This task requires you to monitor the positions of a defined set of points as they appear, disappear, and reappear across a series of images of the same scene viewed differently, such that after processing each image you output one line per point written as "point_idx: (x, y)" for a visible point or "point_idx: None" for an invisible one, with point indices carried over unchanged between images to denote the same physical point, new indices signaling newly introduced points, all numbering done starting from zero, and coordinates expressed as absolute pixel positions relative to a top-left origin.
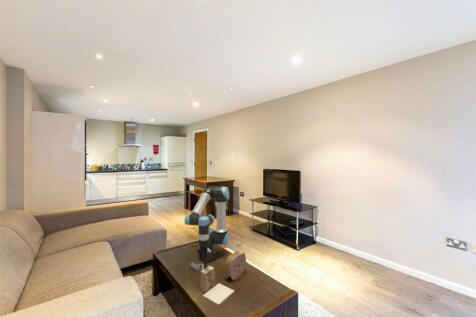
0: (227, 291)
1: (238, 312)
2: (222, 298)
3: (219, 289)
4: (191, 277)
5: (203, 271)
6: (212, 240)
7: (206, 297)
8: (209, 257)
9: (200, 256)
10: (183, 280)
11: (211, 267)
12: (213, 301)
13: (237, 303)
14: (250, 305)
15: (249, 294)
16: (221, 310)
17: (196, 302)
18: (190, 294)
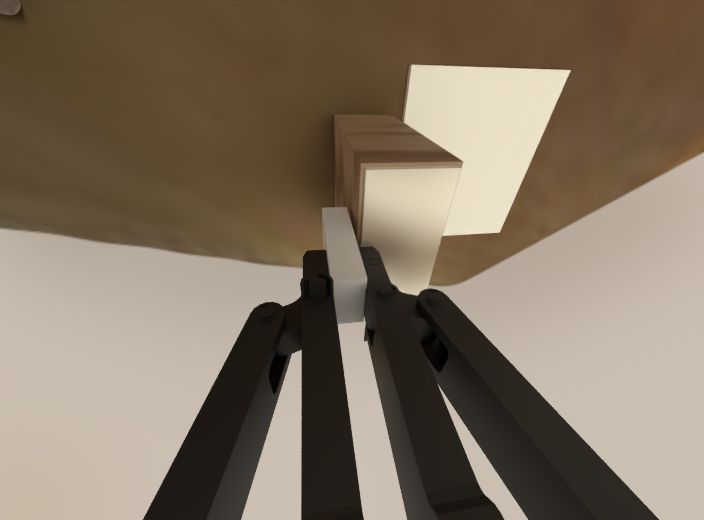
0: (519, 116)
1: (602, 206)
2: (505, 191)
3: (453, 135)
4: (134, 152)
5: None
6: None
7: None
8: (521, 381)
9: (269, 408)
10: (142, 219)
11: (420, 187)
12: (464, 233)
13: (596, 161)
14: (677, 126)
15: (695, 18)
16: (519, 243)
17: None
18: None
